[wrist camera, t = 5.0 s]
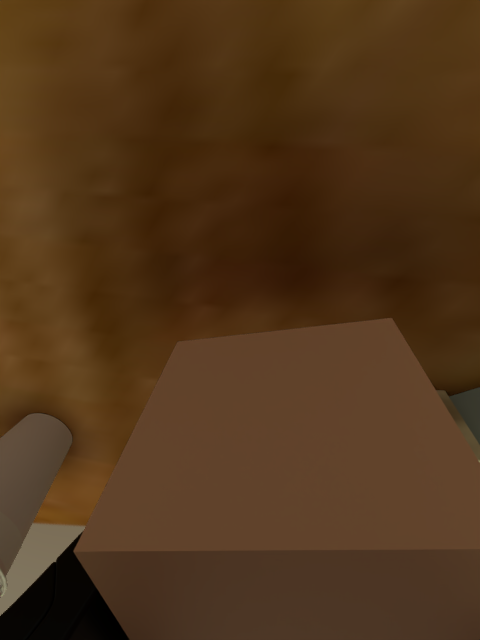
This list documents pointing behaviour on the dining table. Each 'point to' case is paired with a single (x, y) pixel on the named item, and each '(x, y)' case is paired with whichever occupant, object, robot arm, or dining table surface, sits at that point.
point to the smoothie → (27, 479)
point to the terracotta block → (292, 496)
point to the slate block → (469, 409)
